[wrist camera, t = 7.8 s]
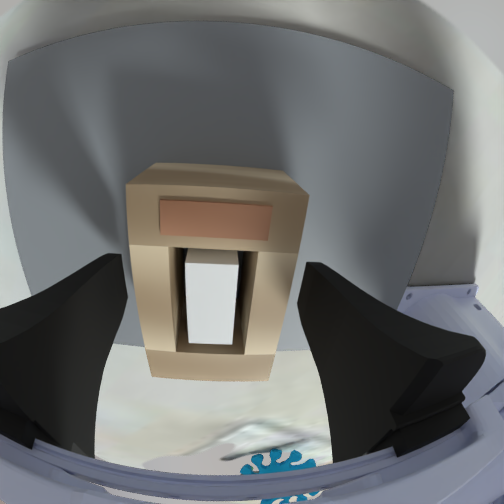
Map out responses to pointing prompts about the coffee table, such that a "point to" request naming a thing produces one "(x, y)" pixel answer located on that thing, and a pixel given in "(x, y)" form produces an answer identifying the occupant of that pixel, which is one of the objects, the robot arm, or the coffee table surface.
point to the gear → (278, 470)
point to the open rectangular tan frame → (213, 237)
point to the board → (222, 153)
